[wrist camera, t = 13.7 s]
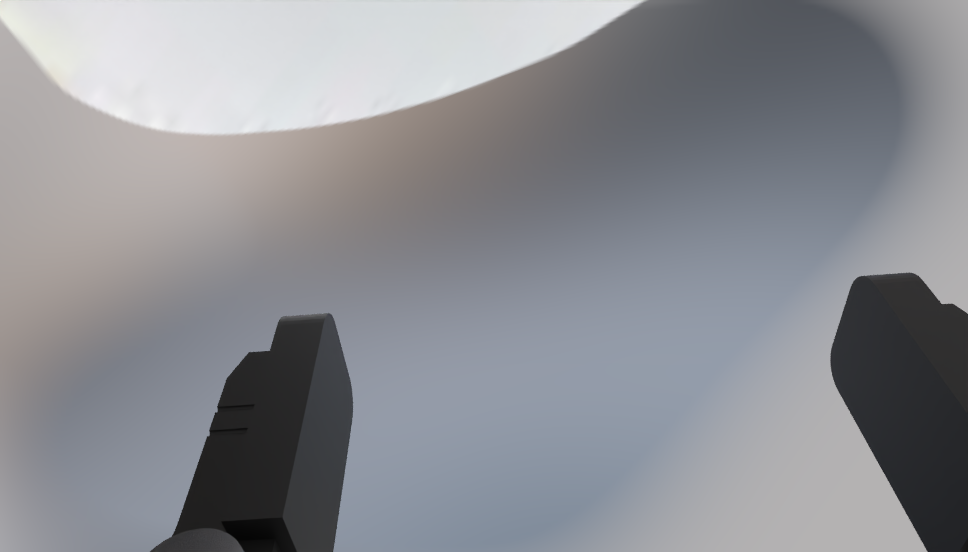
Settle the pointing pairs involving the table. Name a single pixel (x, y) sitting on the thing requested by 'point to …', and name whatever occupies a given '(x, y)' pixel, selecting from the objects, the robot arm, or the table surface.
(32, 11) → the table surface
